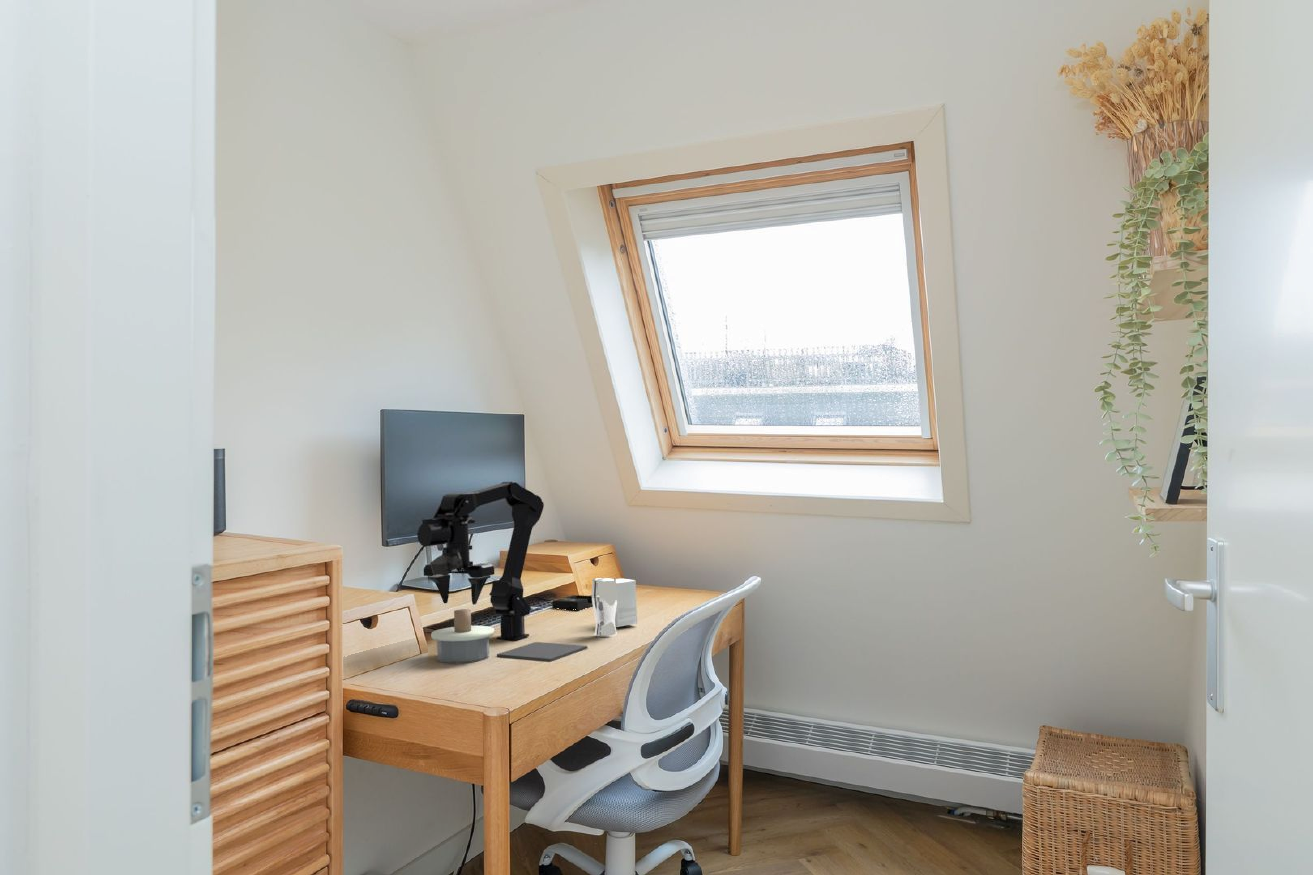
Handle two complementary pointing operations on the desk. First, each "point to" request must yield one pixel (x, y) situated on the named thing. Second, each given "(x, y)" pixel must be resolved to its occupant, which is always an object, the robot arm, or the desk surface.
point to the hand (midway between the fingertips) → (459, 603)
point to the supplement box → (626, 603)
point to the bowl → (463, 650)
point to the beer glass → (604, 606)
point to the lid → (462, 629)
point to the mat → (542, 651)
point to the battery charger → (573, 602)
